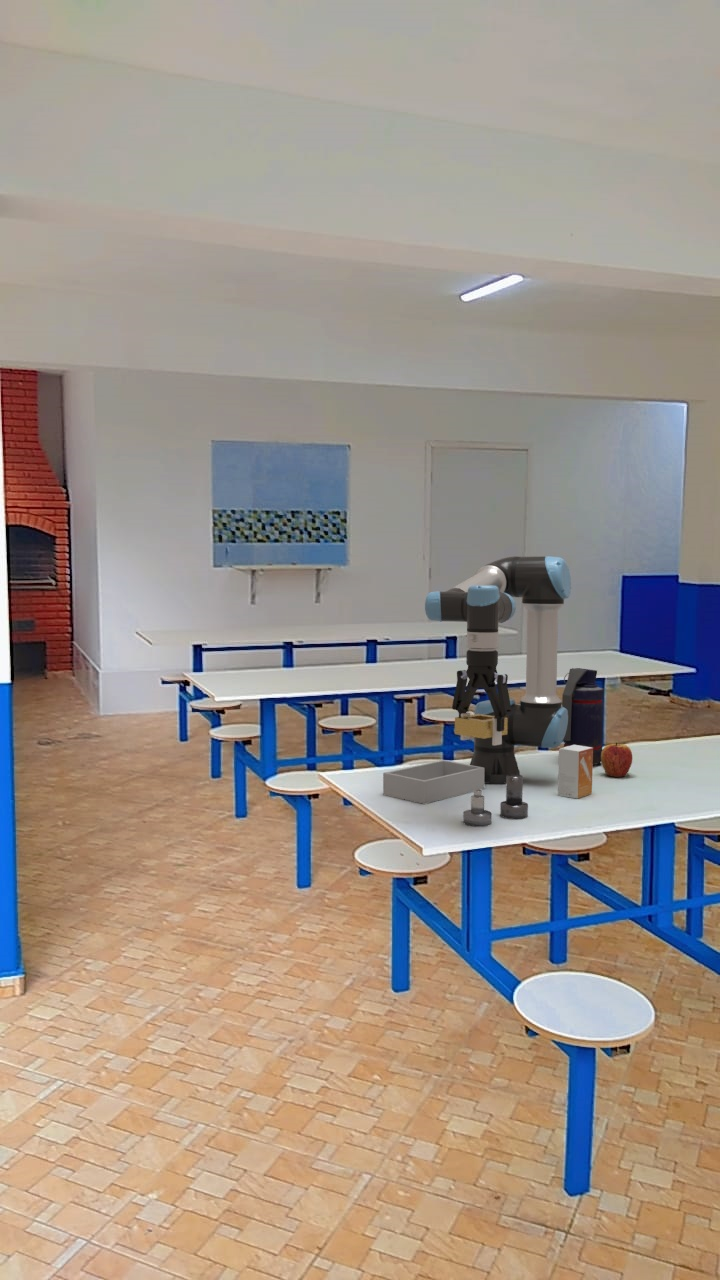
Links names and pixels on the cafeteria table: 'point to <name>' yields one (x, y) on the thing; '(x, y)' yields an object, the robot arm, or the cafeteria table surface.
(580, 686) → the grenade
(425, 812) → the cafeteria table surface
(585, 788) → the small box
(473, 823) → the cylinder
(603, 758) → the apple
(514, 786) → the dark grey round-headed cylinder
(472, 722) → the gold square ring
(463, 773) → the gray bin
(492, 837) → the cafeteria table surface
